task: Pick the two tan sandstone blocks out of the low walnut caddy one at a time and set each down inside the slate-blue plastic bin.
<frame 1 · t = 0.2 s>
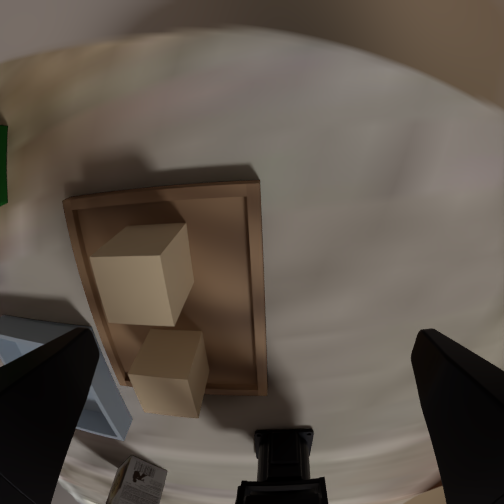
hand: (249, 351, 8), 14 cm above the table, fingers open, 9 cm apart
slate bin: (63, 370, 29), on the table
walnut caddy: (172, 303, 24), on the table
stone b: (180, 350, 25), resting on walnut caddy
stone a: (160, 254, 22), resting on walnut caddy
coffee box: (141, 469, 38), on the table
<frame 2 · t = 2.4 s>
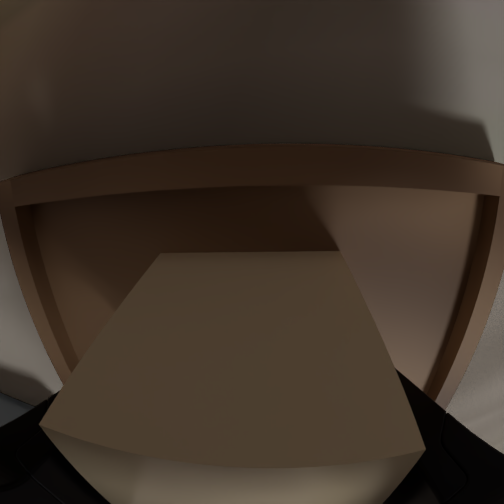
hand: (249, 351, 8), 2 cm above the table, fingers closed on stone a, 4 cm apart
slate bin: (49, 454, 16), on the table
walnut caddy: (256, 411, 11), on the table
stone a: (251, 327, 8), resting on walnut caddy, touching gripper
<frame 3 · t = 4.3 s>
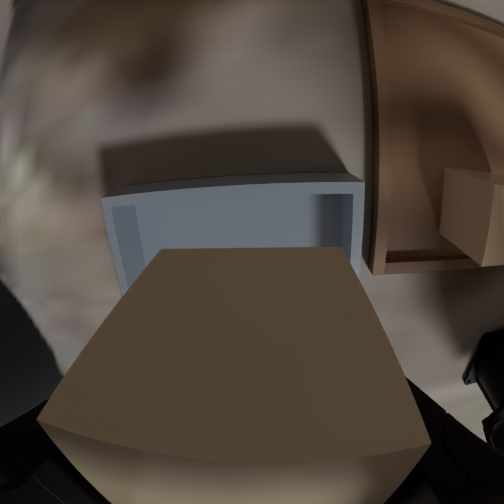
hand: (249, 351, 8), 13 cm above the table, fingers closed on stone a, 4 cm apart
slate bin: (240, 280, 21), on the table
walnut caddy: (466, 136, 16), on the table
stone b: (467, 201, 17), resting on walnut caddy
stone a: (252, 324, 8), point 12 cm above the table, touching gripper
when the fingers open (3 cm above the table, at t = 6.2 s): stone a drops 2 cm, resting on slate bin.
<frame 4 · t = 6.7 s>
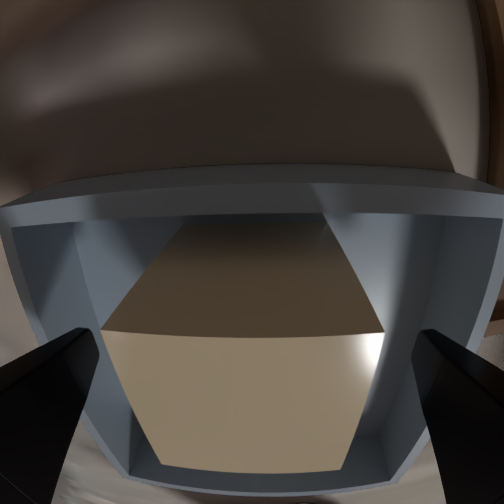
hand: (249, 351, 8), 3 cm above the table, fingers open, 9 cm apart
slate bin: (257, 350, 12), on the table
stone a: (256, 288, 10), resting on slate bin
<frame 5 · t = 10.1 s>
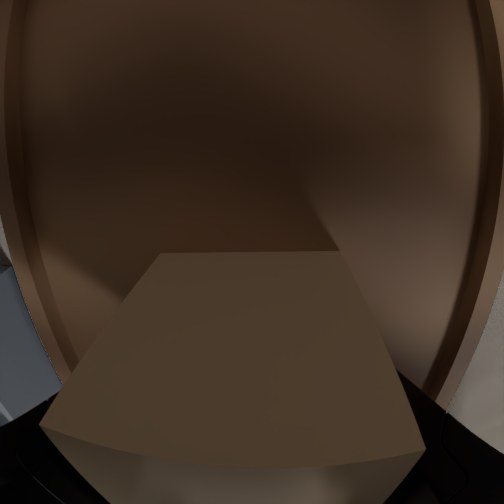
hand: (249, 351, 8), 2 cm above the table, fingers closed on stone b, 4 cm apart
walnut caddy: (245, 156, 7), on the table
stone b: (251, 327, 8), resting on walnut caddy, touching gripper
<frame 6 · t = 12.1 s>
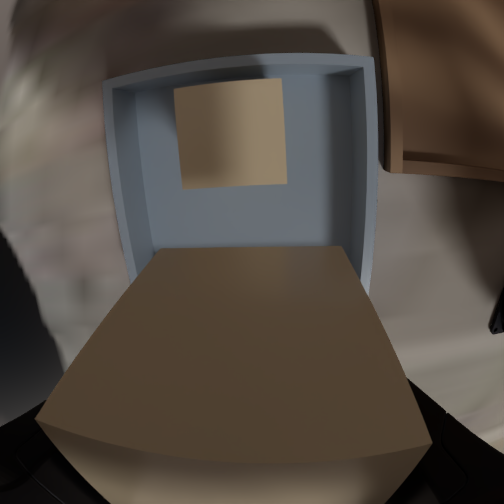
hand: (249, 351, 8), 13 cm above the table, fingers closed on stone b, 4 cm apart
slate bin: (245, 182, 19), on the table
walnut caddy: (468, 50, 14), on the table
stone b: (252, 323, 8), point 12 cm above the table, touching gripper
stone a: (242, 132, 17), resting on slate bin
when the fingers open (3 cm above the table, at t = 14.0 s): stone b drops 2 cm, resting on slate bin.
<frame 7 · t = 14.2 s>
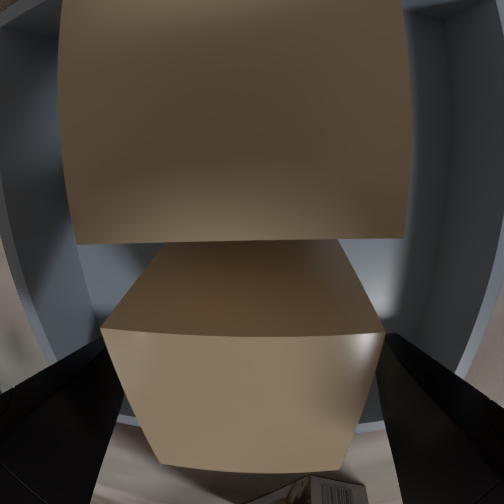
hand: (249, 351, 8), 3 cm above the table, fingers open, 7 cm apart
slate bin: (251, 199, 10), on the table
stone b: (256, 287, 10), resting on slate bin
stone a: (249, 98, 8), resting on slate bin
coffee box: (300, 497, 18), on the table
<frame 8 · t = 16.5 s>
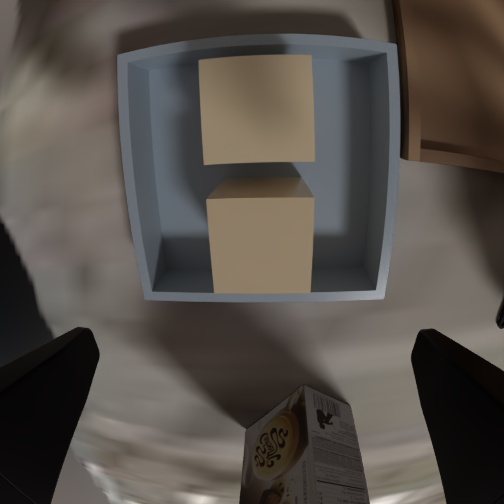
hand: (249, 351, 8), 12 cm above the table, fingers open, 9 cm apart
slate bin: (261, 165, 18), on the table
walnut caddy: (481, 46, 13), on the table
stone b: (264, 214, 19), resting on slate bin
stone a: (261, 114, 16), resting on slate bin
coffee box: (297, 417, 27), on the table
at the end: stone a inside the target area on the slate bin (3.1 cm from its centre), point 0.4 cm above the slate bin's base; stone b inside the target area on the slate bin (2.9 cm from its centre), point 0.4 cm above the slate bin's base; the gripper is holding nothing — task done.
